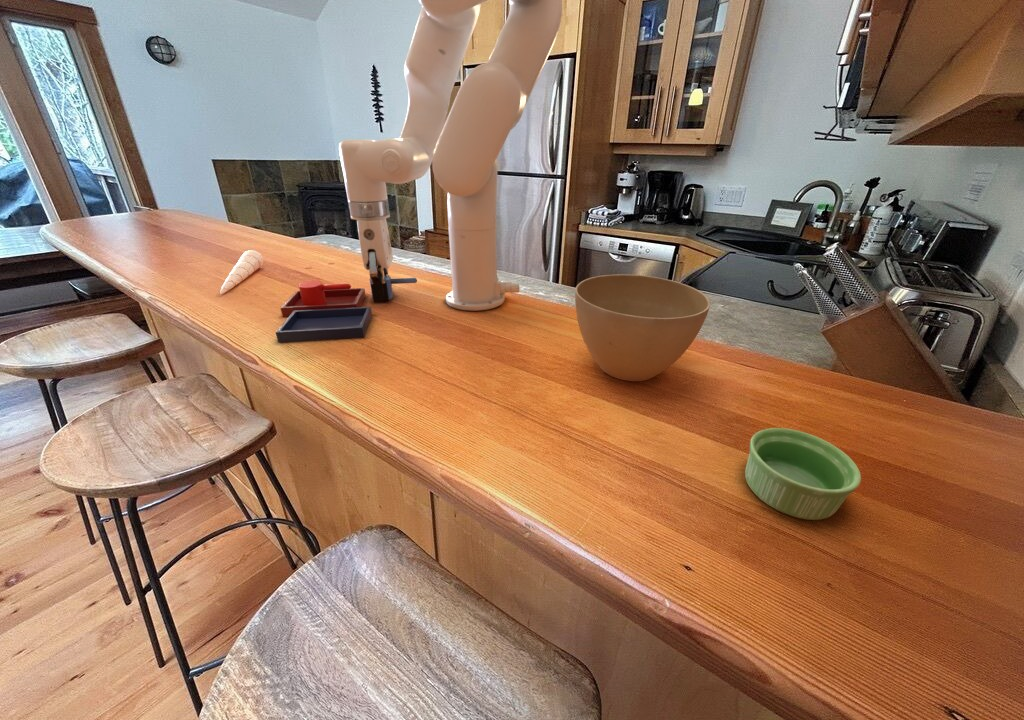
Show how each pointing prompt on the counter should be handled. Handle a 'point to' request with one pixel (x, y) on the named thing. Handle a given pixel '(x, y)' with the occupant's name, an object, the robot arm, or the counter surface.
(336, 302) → the red tray
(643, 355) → the tan bowl
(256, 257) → the unicorn horn
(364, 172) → the robot arm
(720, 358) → the counter surface
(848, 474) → the ramekin
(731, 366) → the counter surface
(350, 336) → the blue tray
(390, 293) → the blue scoop
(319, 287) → the red scoop
